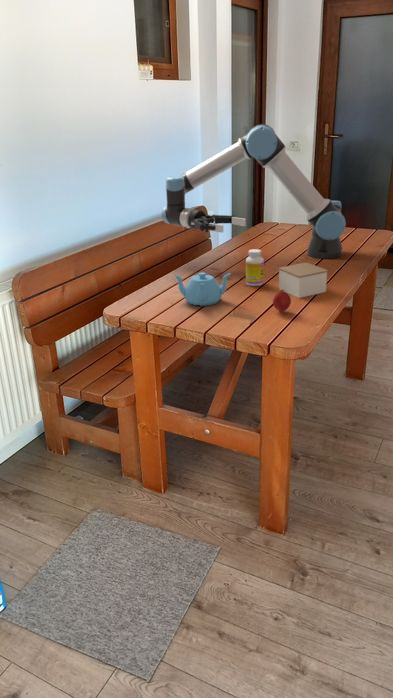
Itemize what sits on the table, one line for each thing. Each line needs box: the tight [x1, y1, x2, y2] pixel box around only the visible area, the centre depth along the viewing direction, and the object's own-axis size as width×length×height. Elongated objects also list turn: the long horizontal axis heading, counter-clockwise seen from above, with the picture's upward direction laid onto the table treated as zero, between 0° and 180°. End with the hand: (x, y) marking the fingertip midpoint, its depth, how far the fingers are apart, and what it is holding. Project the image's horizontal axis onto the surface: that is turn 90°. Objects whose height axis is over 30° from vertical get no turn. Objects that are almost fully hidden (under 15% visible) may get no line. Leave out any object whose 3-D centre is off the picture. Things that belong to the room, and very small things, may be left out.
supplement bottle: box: [245, 248, 265, 287], centre depth 215 cm, size 7×7×13 cm
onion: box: [272, 289, 292, 313], centre depth 187 cm, size 6×6×8 cm
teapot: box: [173, 271, 232, 307], centre depth 200 cm, size 15×15×10 cm
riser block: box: [278, 262, 329, 299], centre depth 207 cm, size 12×12×8 cm
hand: (234, 225), depth 219 cm, fingers open, 13 cm apart
